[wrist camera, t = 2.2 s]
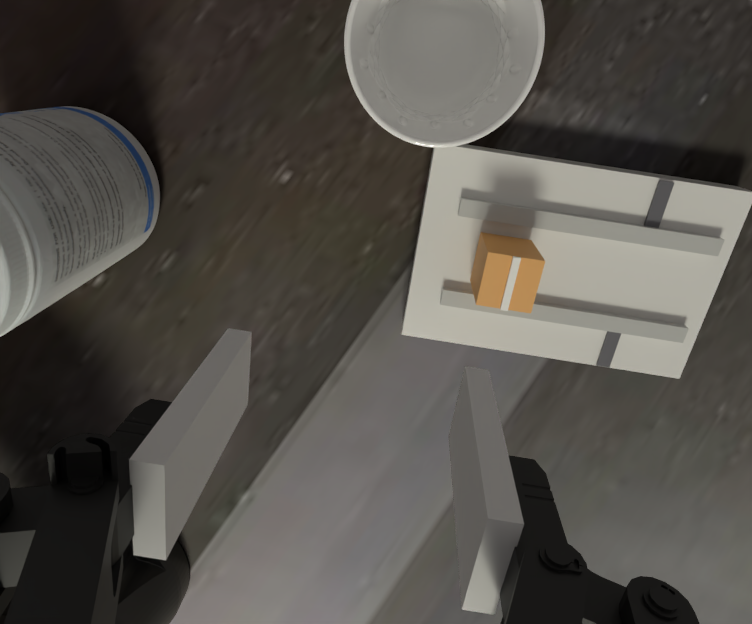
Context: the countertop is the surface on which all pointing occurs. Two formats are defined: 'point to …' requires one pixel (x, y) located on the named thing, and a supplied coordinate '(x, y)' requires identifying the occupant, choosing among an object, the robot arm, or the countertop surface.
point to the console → (574, 257)
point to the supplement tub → (67, 204)
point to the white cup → (443, 64)
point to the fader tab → (506, 272)
